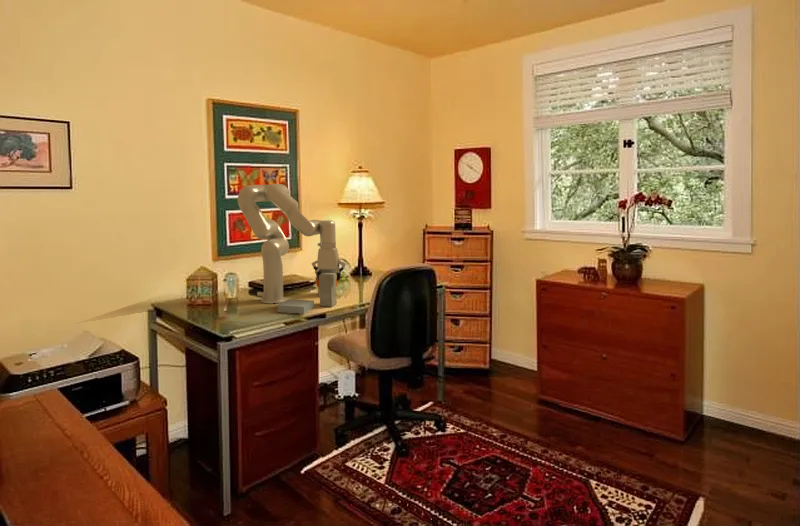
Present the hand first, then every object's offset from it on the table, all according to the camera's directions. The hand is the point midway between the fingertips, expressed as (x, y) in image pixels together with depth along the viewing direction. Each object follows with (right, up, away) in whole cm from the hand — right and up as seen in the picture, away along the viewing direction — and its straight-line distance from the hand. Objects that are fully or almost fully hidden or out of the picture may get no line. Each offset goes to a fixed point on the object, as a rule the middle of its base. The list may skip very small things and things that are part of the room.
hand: (329, 280), depth 269 cm
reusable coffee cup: (-4, -9, +24) cm, 26 cm away
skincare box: (-1, -13, +2) cm, 13 cm away
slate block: (-15, -15, -9) cm, 22 cm away
